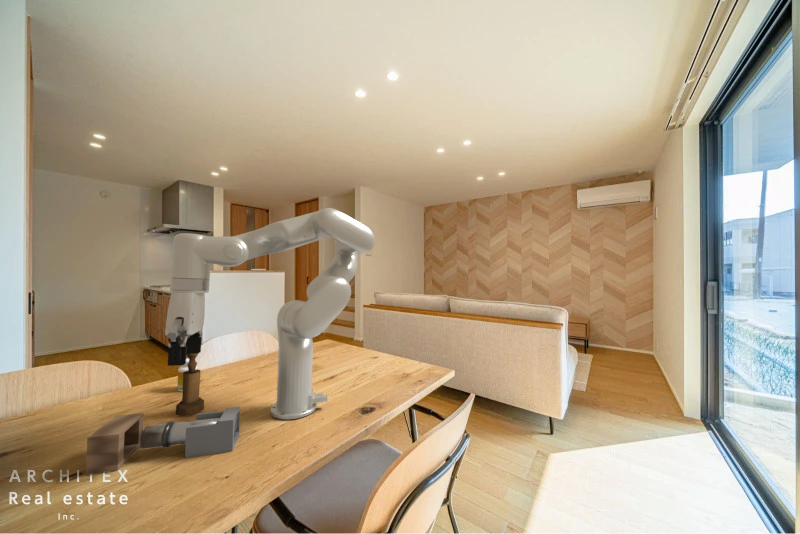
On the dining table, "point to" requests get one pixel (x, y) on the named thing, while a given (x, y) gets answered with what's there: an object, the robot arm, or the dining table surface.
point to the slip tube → (171, 433)
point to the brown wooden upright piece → (190, 390)
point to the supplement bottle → (180, 375)
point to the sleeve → (213, 433)
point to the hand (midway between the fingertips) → (185, 358)
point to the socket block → (114, 443)
